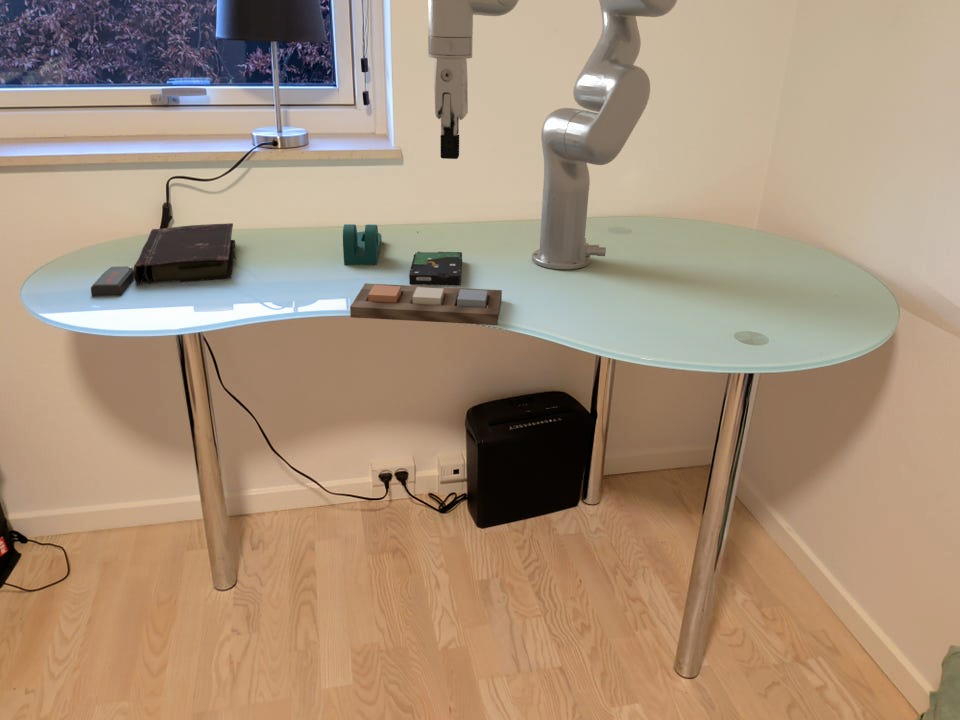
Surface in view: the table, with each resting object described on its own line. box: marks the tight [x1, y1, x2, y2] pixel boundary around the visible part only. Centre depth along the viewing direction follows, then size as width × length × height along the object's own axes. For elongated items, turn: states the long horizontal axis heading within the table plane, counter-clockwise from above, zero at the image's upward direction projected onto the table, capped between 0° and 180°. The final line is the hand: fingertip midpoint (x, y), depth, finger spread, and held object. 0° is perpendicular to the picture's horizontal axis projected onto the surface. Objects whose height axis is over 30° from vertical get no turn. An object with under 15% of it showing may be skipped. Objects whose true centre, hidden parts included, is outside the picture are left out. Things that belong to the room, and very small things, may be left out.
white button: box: [412, 287, 444, 305], centre depth 136 cm, size 5×5×3 cm
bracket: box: [342, 223, 383, 266], centre depth 164 cm, size 18×7×8 cm, turn 2°
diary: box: [133, 222, 237, 286], centre depth 156 cm, size 19×25×5 cm
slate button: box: [457, 289, 488, 308], centre depth 136 cm, size 5×5×3 cm
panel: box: [349, 282, 503, 326], centre depth 136 cm, size 26×12×2 cm, turn 85°
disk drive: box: [408, 251, 463, 286], centre depth 154 cm, size 10×3×15 cm
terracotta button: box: [368, 285, 401, 303], centre depth 137 cm, size 5×5×3 cm
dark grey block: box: [90, 265, 135, 297], centre depth 144 cm, size 5×12×3 cm, turn 8°
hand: (449, 157), depth 135 cm, fingers closed
